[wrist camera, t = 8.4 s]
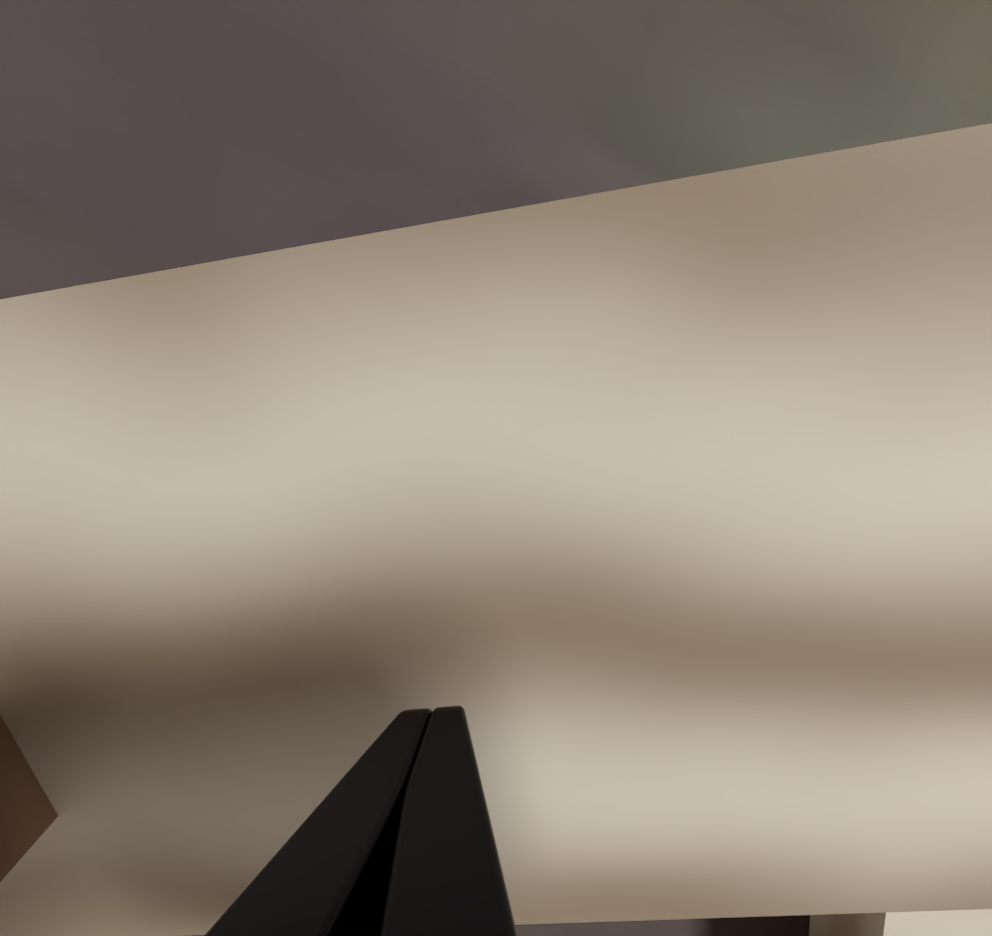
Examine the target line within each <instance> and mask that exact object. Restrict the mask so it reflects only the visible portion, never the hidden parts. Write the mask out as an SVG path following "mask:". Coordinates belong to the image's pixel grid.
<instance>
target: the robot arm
mask: <svg viewBox="0 0 992 936" xmlns="http://www.w3.org/2000/svg"><path fill="white" fill-rule="evenodd" d="M204 936H518V935H517V931H516V926H515V922H514V918H513V914H512V909H511V905H510V901H509V897H508V892H507V888H506V884H505V880H504V875H503V871H502V867H501V863H500V859H499V854H498V850H497V846H496V842H495V837H494V833H493V829H492V825H491V820H490V816H489V812H488V808H487V803H486V799H485V795H484V791H483V786H482V782H481V778H480V774H479V769H478V765H477V761H476V757H475V752H474V748H473V744H472V740H471V736H470V731H469V727H468V723H467V719H466V714H465V710H464V708H463V707H462V706H447V707H437V708H435V709H434V710H433V711H432V710H431V709H429V708H422V709H409V710H404V711H402V712H400V713H399V714H398V715H397V716H396V717H395V718H394V720H393V721H392V722H391V723H390V724H389V725H388V726H387V728H386V729H385V730H384V731H383V732H382V733H381V734H380V736H379V737H378V738H377V739H376V740H375V741H374V742H373V744H372V745H371V746H370V747H369V748H368V749H367V750H366V752H365V753H364V754H363V755H362V756H361V757H360V758H359V760H358V761H357V762H356V763H355V764H354V765H353V766H352V768H351V769H350V770H349V771H348V772H347V773H346V774H345V776H344V777H343V778H342V779H341V780H340V781H339V782H338V784H337V785H336V786H335V787H334V788H333V789H332V790H331V792H330V793H329V794H328V795H327V796H326V797H325V798H324V800H323V801H322V802H321V803H320V804H319V805H318V806H317V808H316V809H315V810H314V811H313V812H312V813H311V814H310V816H309V817H308V818H307V819H306V820H305V821H304V822H303V824H302V825H301V826H300V827H299V828H298V829H297V830H296V832H295V833H294V834H293V835H292V836H291V837H290V838H289V839H288V841H287V842H286V843H285V844H284V845H283V846H282V847H281V849H280V850H279V851H278V852H277V853H276V854H275V855H274V857H273V858H272V859H271V860H270V861H269V862H268V863H267V865H266V866H265V867H264V868H263V869H262V870H261V871H260V873H259V874H258V875H257V876H256V877H255V878H254V879H253V881H252V882H251V883H250V884H249V885H248V886H247V887H246V889H245V890H244V891H243V892H242V893H241V894H240V895H239V897H238V898H237V899H236V900H235V901H234V902H233V903H232V905H231V906H230V907H229V908H228V909H227V910H226V911H225V913H224V914H223V915H222V916H221V917H220V918H219V919H218V921H217V922H216V923H215V924H214V925H213V926H212V927H211V929H210V930H209V931H208V932H207V933H206V934H205V935H204Z"/></svg>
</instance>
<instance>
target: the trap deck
mask: <svg viewBox="0 0 992 936" xmlns="http://www.w3.org/2000/svg"><path fill="white" fill-rule="evenodd" d="M447 706H462V707H463V708H464V710H465V714H466V719H467V723H468V727H469V731H470V736H471V740H472V744H473V748H474V752H475V757H476V761H477V765H478V769H479V774H480V778H481V782H482V786H483V791H484V795H485V799H486V803H487V808H488V812H489V816H490V820H491V825H492V829H493V833H494V837H495V842H496V846H497V850H498V854H499V859H500V863H501V867H502V871H503V875H504V880H505V884H506V888H507V892H508V897H509V901H510V905H511V909H512V914H513V918H514V922H515V925H519V924H549V923H580V922H610V921H641V920H672V919H702V918H733V917H763V916H794V915H810V923H809V936H992V123H990V124H984V125H978V126H973V127H967V128H962V129H956V130H950V131H945V132H939V133H933V134H928V135H922V136H917V137H911V138H905V139H900V140H894V141H888V142H883V143H877V144H872V145H866V146H860V147H855V148H849V149H843V150H838V151H832V152H827V153H821V154H815V155H810V156H804V157H798V158H793V159H787V160H782V161H776V162H770V163H765V164H759V165H754V166H748V167H742V168H737V169H731V170H725V171H720V172H714V173H709V174H703V175H697V176H692V177H686V178H680V179H675V180H669V181H664V182H658V183H652V184H647V185H641V186H635V187H630V188H624V189H619V190H613V191H607V192H602V193H596V194H590V195H585V196H579V197H574V198H568V199H562V200H557V201H551V202H546V203H540V204H534V205H529V206H523V207H517V208H512V209H506V210H501V211H495V212H489V213H484V214H478V215H472V216H467V217H461V218H456V219H450V220H444V221H439V222H433V223H427V224H422V225H416V226H411V227H405V228H399V229H394V230H388V231H383V232H377V233H371V234H366V235H360V236H354V237H349V238H343V239H338V240H332V241H326V242H321V243H315V244H309V245H304V246H298V247H293V248H287V249H281V250H276V251H270V252H264V253H259V254H253V255H248V256H242V257H236V258H231V259H225V260H219V261H214V262H208V263H203V264H197V265H191V266H186V267H180V268H175V269H169V270H163V271H158V272H152V273H146V274H141V275H135V276H130V277H124V278H118V279H113V280H107V281H101V282H96V283H90V284H85V285H79V286H73V287H68V288H62V289H56V290H51V291H45V292H40V293H34V294H28V295H23V296H17V297H11V298H6V299H0V715H1V717H2V718H3V720H4V722H5V724H6V725H7V727H8V729H9V731H10V732H11V734H12V736H13V738H14V739H15V741H16V743H17V745H18V746H19V748H20V750H21V752H22V753H23V755H24V757H25V759H26V760H27V762H28V764H29V766H30V767H31V769H32V771H33V773H34V774H35V776H36V778H37V780H38V781H39V783H40V785H41V787H42V788H43V790H44V792H45V794H46V795H47V797H48V799H49V801H50V802H51V804H52V806H53V808H54V809H55V811H56V813H57V815H58V817H57V818H56V819H55V820H54V822H53V823H52V824H51V825H50V826H49V827H48V828H47V830H46V831H45V832H44V833H43V834H42V835H41V836H40V838H39V839H38V840H37V841H36V842H35V843H34V844H33V846H32V847H31V848H30V849H29V850H28V851H27V852H26V854H25V855H24V856H23V857H22V858H21V859H20V860H19V862H18V863H17V864H16V865H15V866H14V867H13V868H12V870H11V871H10V872H9V873H8V874H7V875H6V876H5V878H4V879H3V880H2V881H1V882H0V936H183V935H205V934H206V933H207V932H208V931H209V930H210V929H211V927H212V926H213V925H214V924H215V923H216V922H217V921H218V919H219V918H220V917H221V916H222V915H223V914H224V913H225V911H226V910H227V909H228V908H229V907H230V906H231V905H232V903H233V902H234V901H235V900H236V899H237V898H238V897H239V895H240V894H241V893H242V892H243V891H244V890H245V889H246V887H247V886H248V885H249V884H250V883H251V882H252V881H253V879H254V878H255V877H256V876H257V875H258V874H259V873H260V871H261V870H262V869H263V868H264V867H265V866H266V865H267V863H268V862H269V861H270V860H271V859H272V858H273V857H274V855H275V854H276V853H277V852H278V851H279V850H280V849H281V847H282V846H283V845H284V844H285V843H286V842H287V841H288V839H289V838H290V837H291V836H292V835H293V834H294V833H295V832H296V830H297V829H298V828H299V827H300V826H301V825H302V824H303V822H304V821H305V820H306V819H307V818H308V817H309V816H310V814H311V813H312V812H313V811H314V810H315V809H316V808H317V806H318V805H319V804H320V803H321V802H322V801H323V800H324V798H325V797H326V796H327V795H328V794H329V793H330V792H331V790H332V789H333V788H334V787H335V786H336V785H337V784H338V782H339V781H340V780H341V779H342V778H343V777H344V776H345V774H346V773H347V772H348V771H349V770H350V769H351V768H352V766H353V765H354V764H355V763H356V762H357V761H358V760H359V758H360V757H361V756H362V755H363V754H364V753H365V752H366V750H367V749H368V748H369V747H370V746H371V745H372V744H373V742H374V741H375V740H376V739H377V738H378V737H379V736H380V734H381V733H382V732H383V731H384V730H385V729H386V728H387V726H388V725H389V724H390V723H391V722H392V721H393V720H394V718H395V717H396V716H397V715H398V714H399V713H400V712H402V711H404V710H409V709H422V708H429V709H431V710H432V711H433V710H434V709H435V708H437V707H447Z"/></svg>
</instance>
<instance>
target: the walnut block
mask: <svg viewBox="0 0 992 936" xmlns="http://www.w3.org/2000/svg"><path fill="white" fill-rule="evenodd" d="M57 817H58V815H57V813H56V811H55V809H54V808H53V806H52V804H51V802H50V801H49V799H48V797H47V795H46V794H45V792H44V790H43V788H42V787H41V785H40V783H39V781H38V780H37V778H36V776H35V774H34V773H33V771H32V769H31V767H30V766H29V764H28V762H27V760H26V759H25V757H24V755H23V753H22V752H21V750H20V748H19V746H18V745H17V743H16V741H15V739H14V738H13V736H12V734H11V732H10V731H9V729H8V727H7V725H6V724H5V722H4V720H3V718H2V717H1V715H0V882H1V881H2V880H3V879H4V878H5V876H6V875H7V874H8V873H9V872H10V871H11V870H12V868H13V867H14V866H15V865H16V864H17V863H18V862H19V860H20V859H21V858H22V857H23V856H24V855H25V854H26V852H27V851H28V850H29V849H30V848H31V847H32V846H33V844H34V843H35V842H36V841H37V840H38V839H39V838H40V836H41V835H42V834H43V833H44V832H45V831H46V830H47V828H48V827H49V826H50V825H51V824H52V823H53V822H54V820H55V819H56V818H57Z"/></svg>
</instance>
